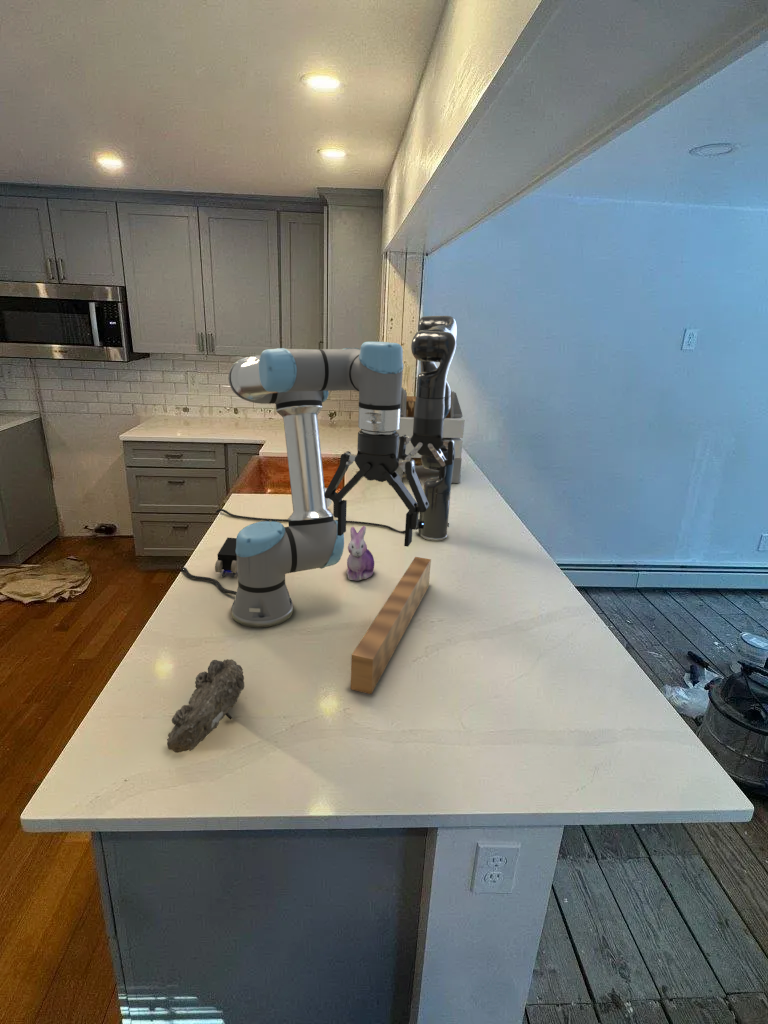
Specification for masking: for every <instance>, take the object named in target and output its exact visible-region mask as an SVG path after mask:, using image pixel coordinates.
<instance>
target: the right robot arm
mask: <svg viewBox="0 0 768 1024" xmlns="http://www.w3.org/2000/svg"><path fill="white" fill-rule="evenodd" d="M457 334H458V328H457V322H456V319H455V318H454V317H453V316H451V315H426V316H425V315H423V316H422V317H420V319H419V321H418V325H417V332H416V333H415V334H414V335H413V337H412V339H411V347H410V348H411V354H412V356H413V357H414V359H416V360H417V361H419V362H420V372H419V373H418V375H417V378H416V379H417V380H416V391H415V395H416V396H415V397H416V400H415V406H414V422H413V435H412V437H409V436H407V435H403V436H401V437H400V443H399V452H398V458H399V459H402V460H409V459H412V458H413V456H414V455H415V454H416V453H418V454H419V455H421V462H422V466H421V467H423V468H424V469H426V470H430V471H437V472H438V476H434V477H429V478H427V479H425V480H424V482H423V491H424V493H425V496H426V498H427V501H428V503H429V507H428V509H427V510H426V511H425V512H420V513H419V517H418V526H417V528H416V529H415V530H417V535H418V536H420V538H421V539H424V540H426V541H432V542H440V541H444V540H446V539H447V538H448V528H450V523H449V517H450V516H449V514H450V504H451V494H452V493H451V491H452V483H451V482H452V473H453V466H454V459H455V441H454V440H451V441H446V440H443V423H444V419H445V417H446V416H447V415H448V413H449V411H450V405H451V391H452V389H451V387H450V385H449V382H448V381H447V377H448V373H449V370H450V366H451V363H452V361H453V359H454V355H455V352H456V349H457ZM436 363H439V365H438V366H437V364H436ZM409 441H411V443H412V445H413V446H414V449H413V450H412V451H411V452H410V453H409V454H408V455H406V454H405V450H406V445H407V444H408V443H409ZM219 512H223V513H224V514H226V515H228V516H230V517H232V518H238V519H243V520H244V519H245V520H252V521H270V522H271V521H276V522H280V523H281V522H282V523H283V522H284V523H285V522H286V523H288V518H287V519H286V518H265V517H254V516H245V515H237V514H233V513H231V512H229V511H228V510H226V509H223V508H219V509H217V510H216V511H215V514H218V513H219ZM335 520H336V521H338V519H335ZM346 524H358V525H364V526H366V525H367V526H374V527H380V528H384V529H385V528H386V529H389V530H390V531H392V532H396V533H399V534H405V530H397V529H396V528H394V527H391V526H389V525H387V524H382V523H375V522H367V521H357V520H346Z"/></svg>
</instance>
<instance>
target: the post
mask: <svg viewBox="0 0 768 1024" xmlns="http://www.w3.org/2000/svg"><path fill="white" fill-rule="evenodd" d="M431 563H432V559H430V558H426V557H419V556H415V557H414V558H413V560H412V561H411V562H410V564H409V566H408V567H407V569H406V570H405V572H404V574H403V575H402V576H401V578H400V579H399V581H398V583H397V584H396V586H395V587H394V589H393V591H391V593H390V595H389V596H388V598H387V600H386V601H385V602H384V603H383V606H382V607H381V609H380V610H379V612H378V613H377V615H376V616H375V618H374V620H373V621H372V623H371V624H370V626H369V627H368V629H367V630H366V632H365V634H363V637H362V638H361V639H360V640H359V642H358V644H357V645H356V647H355V649H354V650H353V652H352V653H351V657H350V658H351V663H350V670H351V671H350V690H351V691H356V692H359V693H364V694H368V695H372V694H373V692H374V690H375V688H376V687H377V685H378V684H379V681H380V679H381V677H382V675H383V673H384V672H385V670H386V667H387V666H388V664H389V662H390V660H391V658H392V656H393V654H394V653H395V651H396V649H397V647H398V645H399V643H400V641H401V639H402V637H403V636H404V634H405V632H406V631H407V628H408V626H409V625H410V623H411V620H412V619H413V617H414V615H415V613H416V611H417V609H418V607H419V606H420V604H421V602H422V600H423V598H424V596H425V594H426V592H427V591H428V588H429V586H430V575H431Z"/></svg>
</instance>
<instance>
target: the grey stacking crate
mask: <svg viewBox="0 0 768 1024" xmlns="http://www.w3.org/2000/svg"><path fill="white" fill-rule="evenodd" d="M407 394H408V393H407V390H406V389H404V388H403V387H402V390H401V404H400V428H399V429H398V430H397V431H396V432H398V434H399V443H400V437H401V436H403V435H407V436H409V437H412V435H413V422H414V406H415V400H416V396H415V395H414V396H413V395H412V396H411V395H407ZM464 429H465V419H464V418H463V411H462V408H461V405H460V402H459V398H458V395H457V392H455V391H453V390H451V405H450V411H449V413H448V415H447V416H446V417H445V419H444V423H443V440H446V441H451V440H454V441H455V459H454V466H453V473H452V482H451V484H455V483H456V484H459V483H461V472H462V461H463V460H462V453H463V442H464V441H463V440H462V439H463V438H464V431H465V430H464ZM413 449H414V446H413V445H412V443H411V441H409V443H408V444H407V445H406V450H405V454H406V455H408V454H409V453H410V452H411V451H412V450H413ZM398 452H399V445H398ZM412 459H414V461H415V467H417V466H418V467H423V466H422V462H421V455H419V454H418V453H416V454H415V455H414V456H413V458H412ZM399 460H402V459H399ZM396 472H397V474H398V475H399V477H400V480H401V481H402V482H403V475H404V472H403V471H402V468H401V467H398V469H397V470H396Z"/></svg>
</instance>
